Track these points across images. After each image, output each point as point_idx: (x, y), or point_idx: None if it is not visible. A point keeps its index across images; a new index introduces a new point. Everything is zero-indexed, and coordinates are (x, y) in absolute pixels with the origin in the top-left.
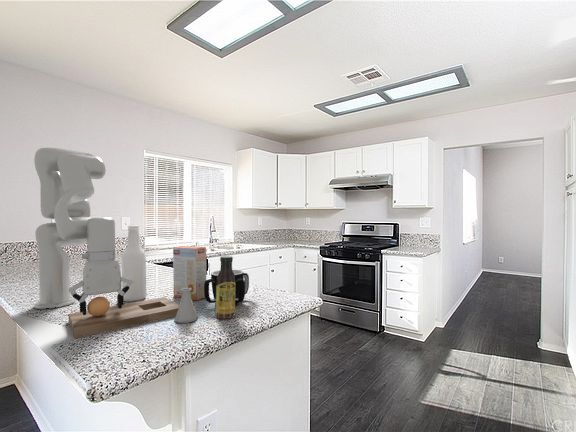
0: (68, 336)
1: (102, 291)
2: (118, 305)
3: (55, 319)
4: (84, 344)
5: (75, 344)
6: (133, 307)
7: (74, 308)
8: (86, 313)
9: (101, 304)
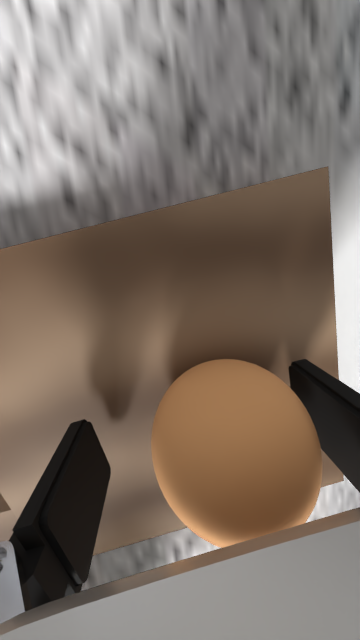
0: None
1: (270, 597)
2: (93, 453)
3: (355, 492)
4: (246, 39)
5: (288, 75)
6: (31, 481)
7: None
8: None
9: (213, 399)
